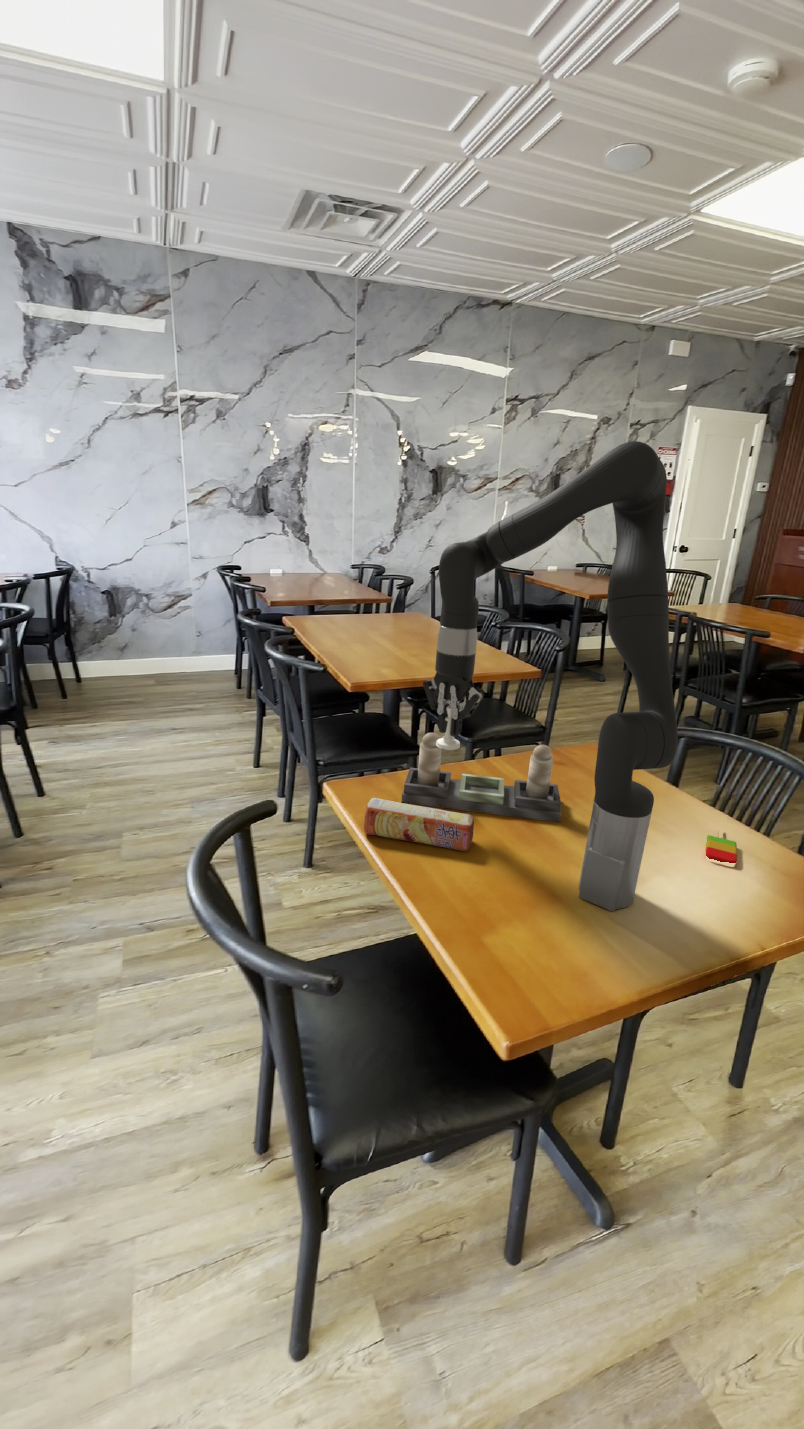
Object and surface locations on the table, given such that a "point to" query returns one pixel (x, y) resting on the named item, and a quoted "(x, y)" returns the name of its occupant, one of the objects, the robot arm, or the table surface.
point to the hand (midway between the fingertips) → (448, 733)
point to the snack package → (419, 824)
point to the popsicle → (721, 849)
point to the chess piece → (448, 734)
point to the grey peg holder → (484, 787)
